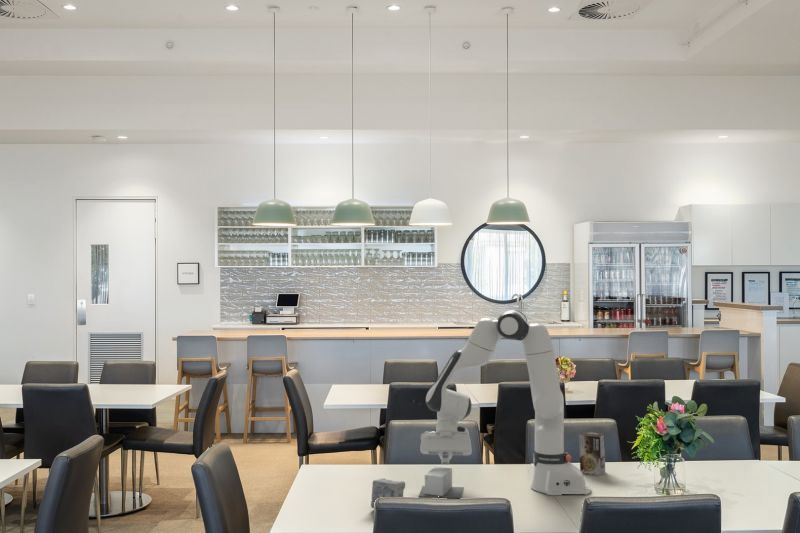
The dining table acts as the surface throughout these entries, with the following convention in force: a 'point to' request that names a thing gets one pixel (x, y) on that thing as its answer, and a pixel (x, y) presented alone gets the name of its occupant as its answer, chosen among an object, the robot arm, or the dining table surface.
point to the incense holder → (386, 489)
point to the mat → (451, 493)
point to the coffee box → (592, 453)
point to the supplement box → (438, 481)
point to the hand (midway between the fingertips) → (445, 463)
